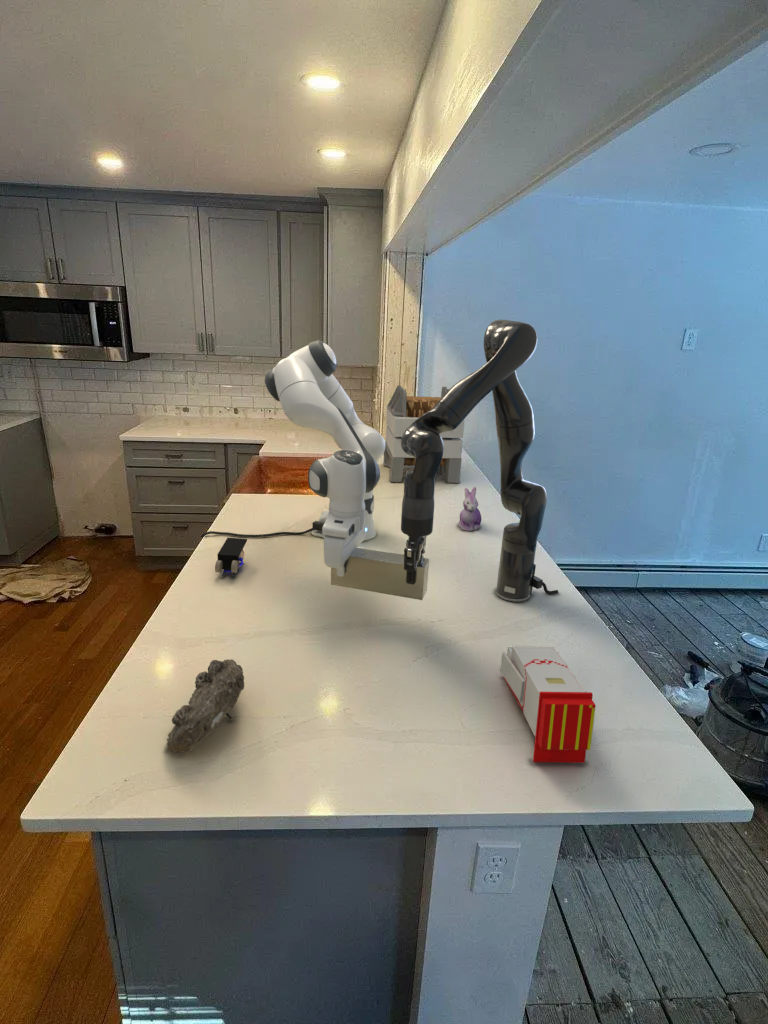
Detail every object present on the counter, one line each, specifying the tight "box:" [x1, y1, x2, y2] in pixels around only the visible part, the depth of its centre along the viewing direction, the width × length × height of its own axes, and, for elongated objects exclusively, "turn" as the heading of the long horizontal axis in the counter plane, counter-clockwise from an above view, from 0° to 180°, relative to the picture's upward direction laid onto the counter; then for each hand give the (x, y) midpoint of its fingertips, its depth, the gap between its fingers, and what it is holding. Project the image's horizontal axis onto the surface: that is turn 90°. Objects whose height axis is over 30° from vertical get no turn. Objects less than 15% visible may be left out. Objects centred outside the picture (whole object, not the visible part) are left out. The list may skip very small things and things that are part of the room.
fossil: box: [166, 658, 245, 754], centre depth 106 cm, size 22×10×15 cm
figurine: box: [458, 486, 482, 532], centre depth 206 cm, size 9×10×15 cm
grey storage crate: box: [383, 384, 465, 484], centre depth 268 cm, size 34×33×41 cm
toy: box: [499, 645, 597, 764], centre depth 112 cm, size 12×13×30 cm
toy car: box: [214, 537, 248, 578], centre depth 166 cm, size 7×8×15 cm
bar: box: [330, 547, 430, 601], centre depth 140 cm, size 24×6×9 cm, turn 74°
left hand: (345, 569), depth 143 cm, fingers closed on bar, 5 cm apart
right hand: (413, 577), depth 138 cm, fingers closed on bar, 5 cm apart
